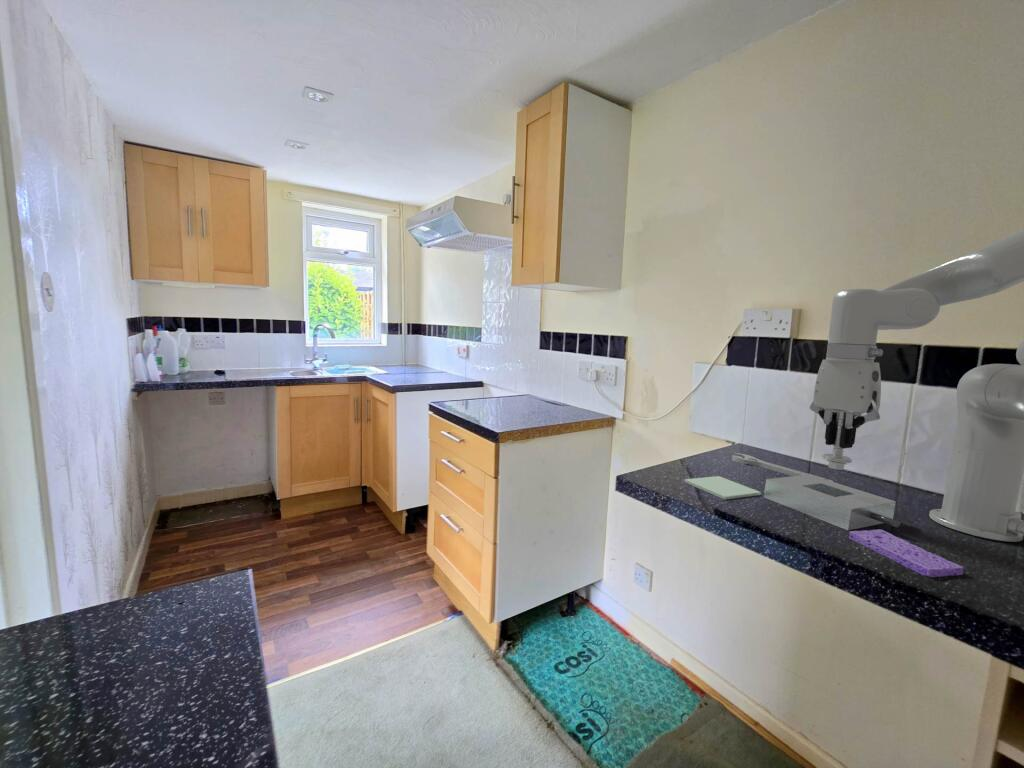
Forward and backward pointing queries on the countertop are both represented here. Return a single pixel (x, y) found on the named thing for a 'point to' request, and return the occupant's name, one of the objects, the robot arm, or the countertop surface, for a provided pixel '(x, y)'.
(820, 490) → the steel block
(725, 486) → the rubber mat
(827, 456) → the screw
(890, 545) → the sponges
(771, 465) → the adjustable wrench
